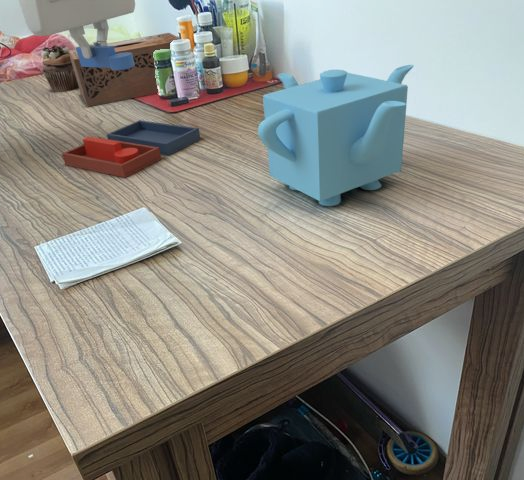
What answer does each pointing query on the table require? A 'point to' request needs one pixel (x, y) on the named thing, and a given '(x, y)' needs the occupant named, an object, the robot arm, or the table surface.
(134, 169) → the red tray
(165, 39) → the tissue box cover
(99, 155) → the red block with disc
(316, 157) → the teakettle
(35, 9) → the robot arm
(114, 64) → the blue stepped block
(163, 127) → the blue tray
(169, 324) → the table surface
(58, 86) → the cupcake
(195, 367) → the table surface
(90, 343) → the table surface
